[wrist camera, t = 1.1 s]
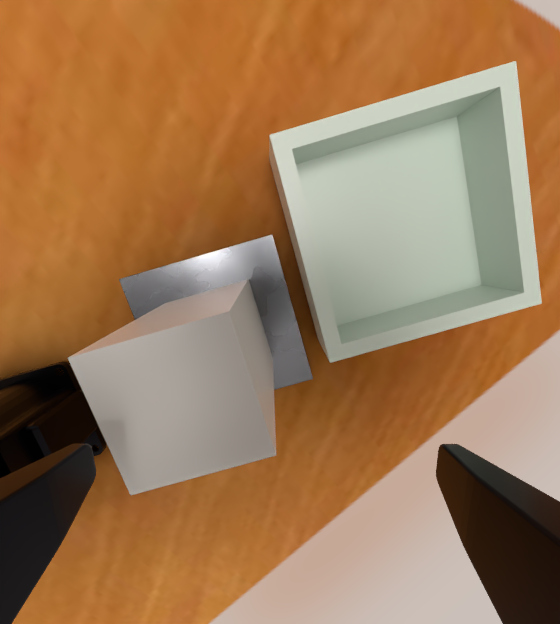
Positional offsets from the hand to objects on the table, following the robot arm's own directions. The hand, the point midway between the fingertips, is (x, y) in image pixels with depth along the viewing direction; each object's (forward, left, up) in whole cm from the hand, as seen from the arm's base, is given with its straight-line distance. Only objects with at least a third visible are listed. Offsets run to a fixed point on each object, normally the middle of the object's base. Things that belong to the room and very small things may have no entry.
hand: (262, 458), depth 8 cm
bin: (+8, +4, -12) cm, 15 cm away
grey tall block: (-3, +1, -11) cm, 11 cm away
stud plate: (-3, +1, -12) cm, 12 cm away
